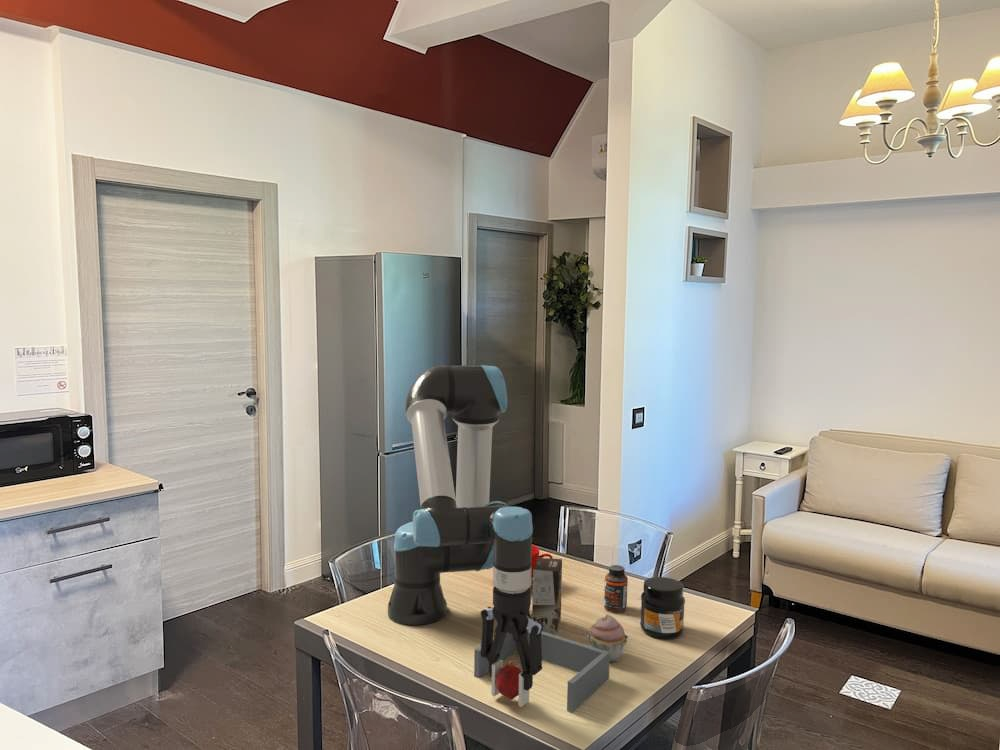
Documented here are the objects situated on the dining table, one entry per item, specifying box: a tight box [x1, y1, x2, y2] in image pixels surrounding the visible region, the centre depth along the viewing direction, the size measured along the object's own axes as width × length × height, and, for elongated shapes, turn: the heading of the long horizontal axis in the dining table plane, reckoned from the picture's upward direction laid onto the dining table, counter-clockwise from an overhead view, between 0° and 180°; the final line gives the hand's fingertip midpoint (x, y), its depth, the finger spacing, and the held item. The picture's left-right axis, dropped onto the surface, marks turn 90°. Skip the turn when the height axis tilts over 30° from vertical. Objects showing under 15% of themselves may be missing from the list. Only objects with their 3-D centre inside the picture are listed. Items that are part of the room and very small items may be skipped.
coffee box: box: [531, 557, 563, 636], centre depth 181 cm, size 9×6×16 cm
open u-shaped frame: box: [473, 626, 610, 714], centre depth 156 cm, size 24×16×6 cm, turn 55°
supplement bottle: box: [603, 564, 629, 614], centre depth 192 cm, size 6×6×11 cm
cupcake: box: [586, 613, 629, 663], centre depth 166 cm, size 9×9×10 cm
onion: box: [496, 659, 522, 701], centre depth 147 cm, size 6×6×8 cm
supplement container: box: [639, 576, 686, 640], centre depth 180 cm, size 10×10×12 cm
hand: (510, 697), depth 147 cm, fingers closed on onion, 6 cm apart
